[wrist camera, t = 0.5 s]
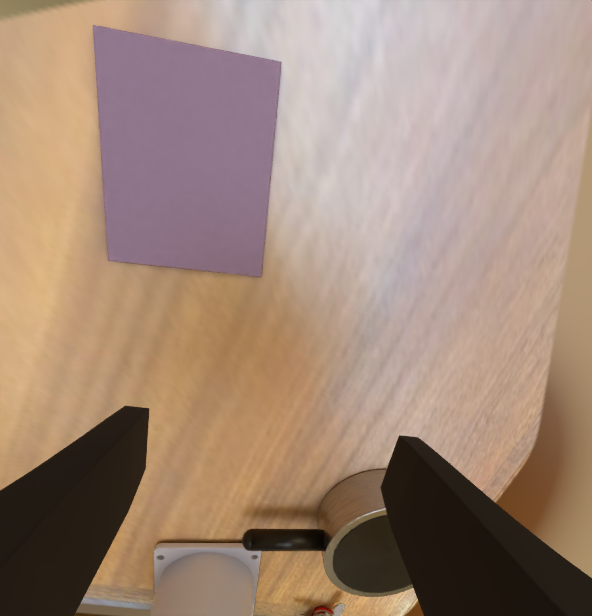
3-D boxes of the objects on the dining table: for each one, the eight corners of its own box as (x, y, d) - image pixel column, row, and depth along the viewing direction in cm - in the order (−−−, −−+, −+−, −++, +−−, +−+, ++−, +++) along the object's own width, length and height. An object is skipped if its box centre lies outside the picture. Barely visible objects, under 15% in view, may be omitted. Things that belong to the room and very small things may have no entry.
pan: (413, 552, 25) (431, 597, 22) (240, 553, 23) (236, 601, 20) (442, 470, 22) (467, 508, 19) (249, 464, 21) (245, 505, 18)
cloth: (261, 276, 16) (261, 277, 16) (110, 259, 16) (107, 260, 15) (281, 64, 14) (281, 61, 13) (96, 28, 13) (92, 24, 12)
